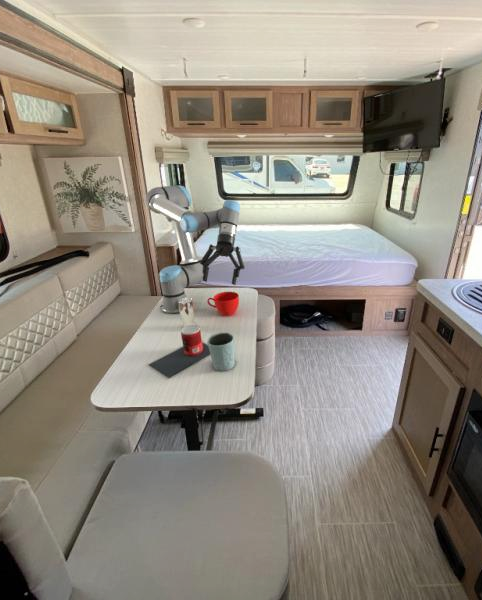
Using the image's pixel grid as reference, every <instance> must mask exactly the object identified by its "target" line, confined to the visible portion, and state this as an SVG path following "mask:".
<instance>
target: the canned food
mask: <svg viewBox="0 0 482 600" xmlns="http://www.w3.org/2000/svg"><path fill="white" fill-rule="evenodd" d="M180 335H181V336H180V337H181V342H182V347H183V348H184V353H185V354H186V355H187V356H196V355H198V354H200V353H201V352H202V350H203V346H202V343H203V341H202V335H201V328H200V326H199V325H197V324H195V325H188V326H185V327H181V329H180Z"/></svg>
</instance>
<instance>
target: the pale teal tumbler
mask: <svg viewBox="0 0 482 600" xmlns="http://www.w3.org/2000/svg"><path fill="white" fill-rule="evenodd" d="M206 344H207V345H208V347H209V350H210V357H211V358H210V359H211V362H212V366H213V368H214V369H215V370H216V371H218V372H226V371H228V370H230V369H232V368H234V367H235V363H236V362H235V361H236V360H235V336H234V335H233V334H232V333H230V332H218V333H214V334H212V335H210V336H209V337H208V338H207V341H206Z"/></svg>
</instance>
